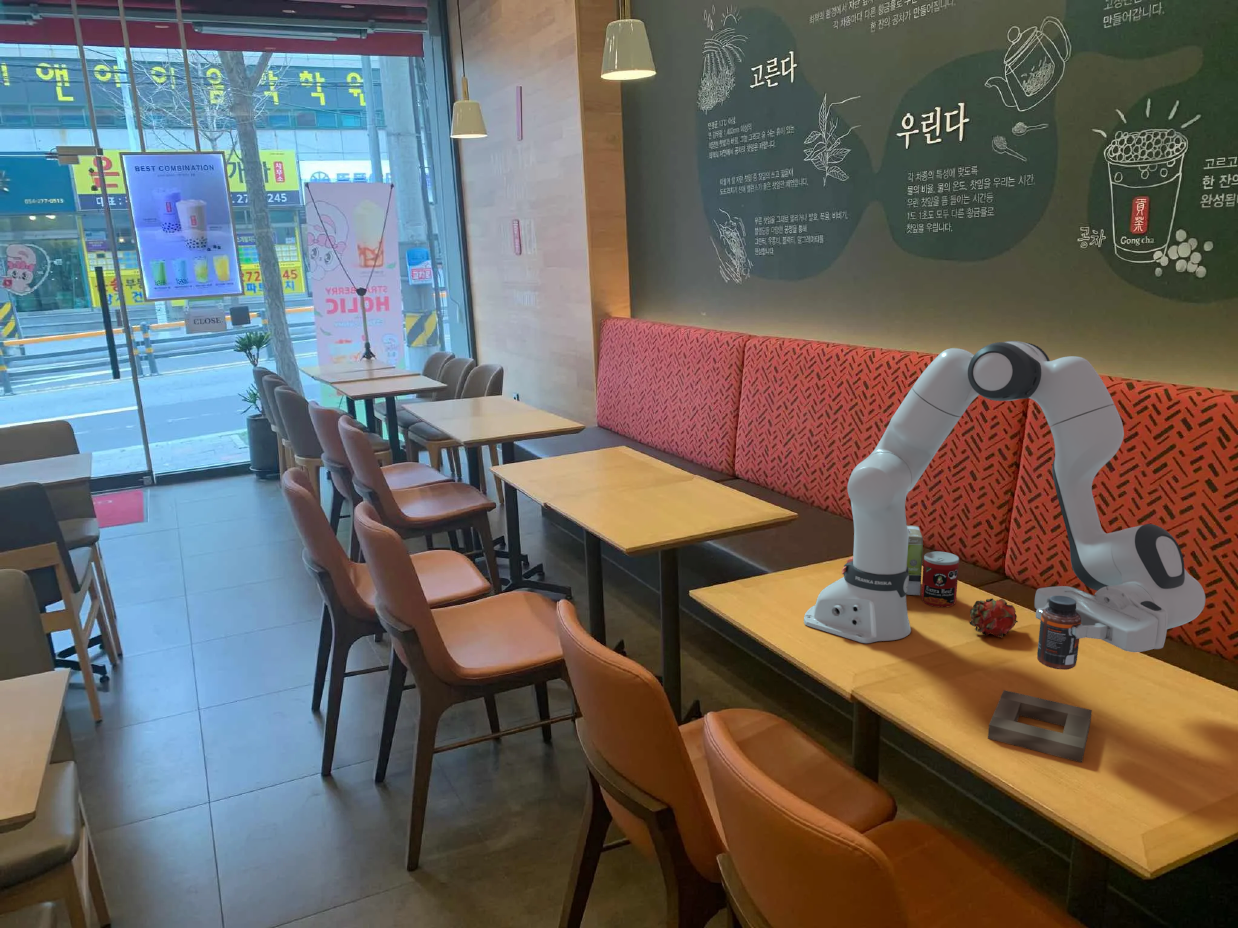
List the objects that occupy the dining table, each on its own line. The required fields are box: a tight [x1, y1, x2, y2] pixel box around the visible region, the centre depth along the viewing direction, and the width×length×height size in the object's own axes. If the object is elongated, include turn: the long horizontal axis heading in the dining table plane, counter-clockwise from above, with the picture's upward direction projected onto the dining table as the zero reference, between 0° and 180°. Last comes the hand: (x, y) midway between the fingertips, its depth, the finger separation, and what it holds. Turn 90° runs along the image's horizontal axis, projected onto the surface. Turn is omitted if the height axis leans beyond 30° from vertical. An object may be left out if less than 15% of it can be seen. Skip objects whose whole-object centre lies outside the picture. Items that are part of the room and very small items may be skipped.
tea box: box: [906, 525, 924, 596], centre depth 211 cm, size 15×10×15 cm
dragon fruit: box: [968, 597, 1019, 639], centre depth 185 cm, size 8×8×12 cm
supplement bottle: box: [1036, 596, 1081, 671], centre depth 144 cm, size 6×6×11 cm
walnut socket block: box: [987, 689, 1093, 764], centre depth 147 cm, size 14×14×2 cm
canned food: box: [920, 550, 960, 608], centre depth 202 cm, size 8×8×11 cm
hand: (1056, 623), depth 143 cm, fingers closed on supplement bottle, 6 cm apart
